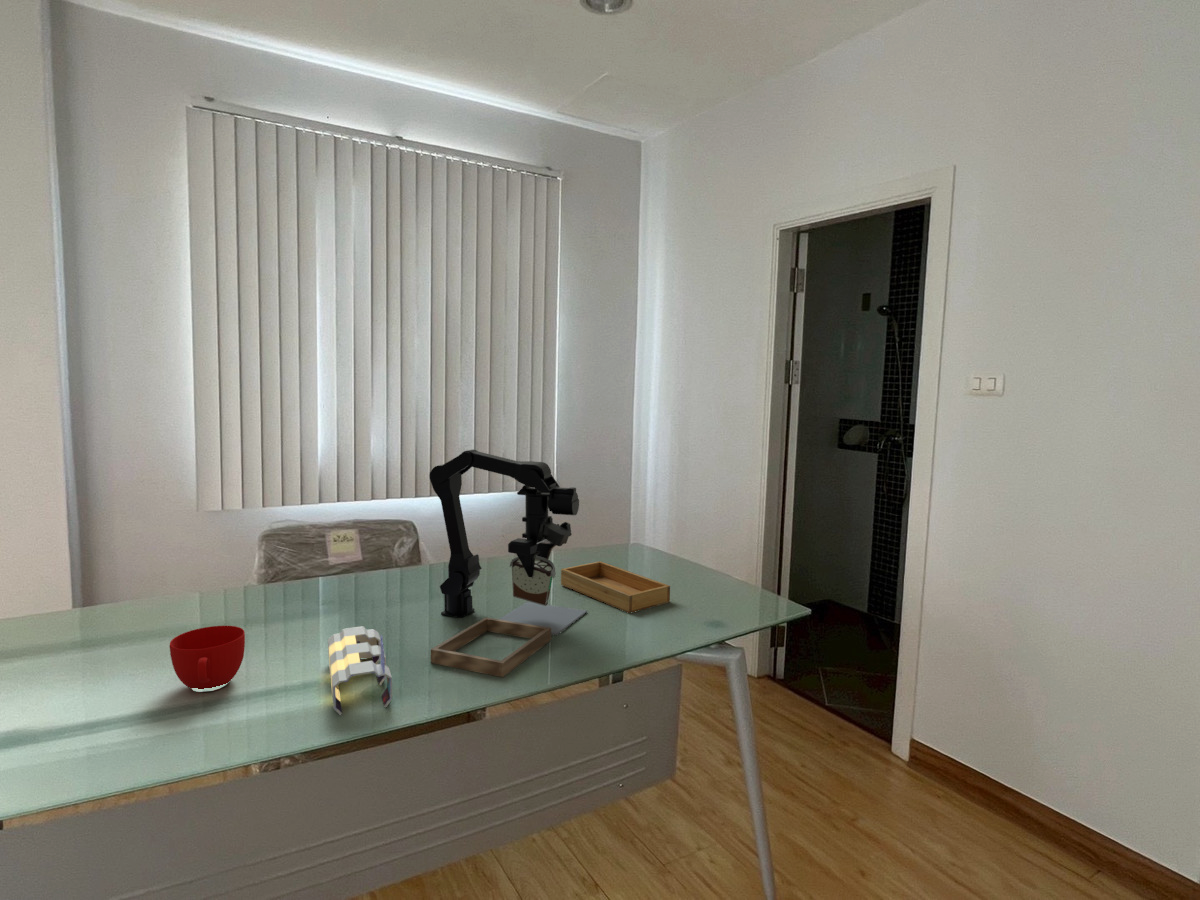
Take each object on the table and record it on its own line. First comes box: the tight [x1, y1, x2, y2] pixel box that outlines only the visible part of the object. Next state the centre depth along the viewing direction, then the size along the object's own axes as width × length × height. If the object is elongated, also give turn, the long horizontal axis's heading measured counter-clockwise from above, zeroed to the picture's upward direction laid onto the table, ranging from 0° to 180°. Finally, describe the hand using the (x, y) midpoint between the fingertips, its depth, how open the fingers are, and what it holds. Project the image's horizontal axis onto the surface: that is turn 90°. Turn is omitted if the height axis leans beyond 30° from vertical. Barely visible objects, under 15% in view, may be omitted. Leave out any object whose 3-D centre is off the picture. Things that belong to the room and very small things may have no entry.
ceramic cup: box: [169, 625, 246, 689], centre depth 134 cm, size 13×17×10 cm
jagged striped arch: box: [327, 625, 393, 715], centre depth 137 cm, size 25×10×13 cm, turn 24°
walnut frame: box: [430, 616, 552, 678], centre depth 154 cm, size 18×22×3 cm
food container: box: [509, 556, 557, 606], centre depth 173 cm, size 12×6×10 cm, turn 68°
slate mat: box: [498, 601, 588, 636], centre depth 175 cm, size 18×18×1 cm
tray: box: [560, 561, 671, 614], centre depth 196 cm, size 31×15×6 cm, turn 39°
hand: (536, 573), depth 172 cm, fingers closed on food container, 6 cm apart
